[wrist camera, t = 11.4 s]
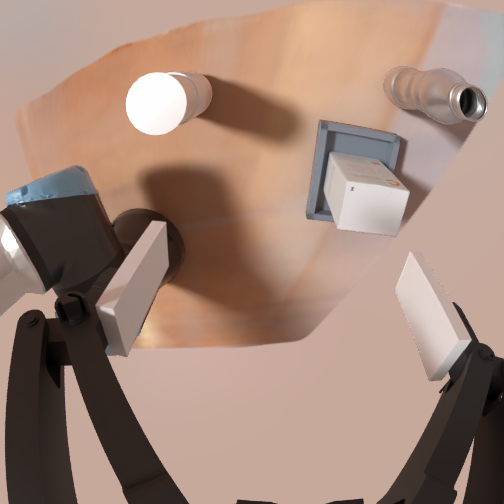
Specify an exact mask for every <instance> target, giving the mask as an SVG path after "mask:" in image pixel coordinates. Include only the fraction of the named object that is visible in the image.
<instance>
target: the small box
mask: <svg viewBox="0 0 504 504" xmlns="http://www.w3.org/2000/svg"><path fill="white" fill-rule="evenodd" d="M323 191H324V194H325V196H326V199H327V202H328V205H329V207H330V210H331V213H332V216H333V218H334V221H335V224H336V227H337V229H338V230H345V231H354V232H362V233H371V234H379V235H386V236H394V237H396V236H397V233H398V230H399V227H400V224H401V221H402V217H403V214H404V211H405V208H406V204H407V201H408V198H409V195H410V191H409V190H408V189H407V188H406V187H405V186H404V185H403V184H402V183H401V182H400V181H399V180H398V179H397V178H396V176H395V175H394V174H393V173H392V172H391V171H390V170H389V169H388V168H387V167H386V166H385V165H384V164H383V163H382V162H381V161H380V160H379V159H374V158H369V157H363V156H358V155H351V154H345V153H338V152H331V151H330V152H329V156H328V163H327V169H326V175H325V181H324V187H323Z"/></svg>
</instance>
